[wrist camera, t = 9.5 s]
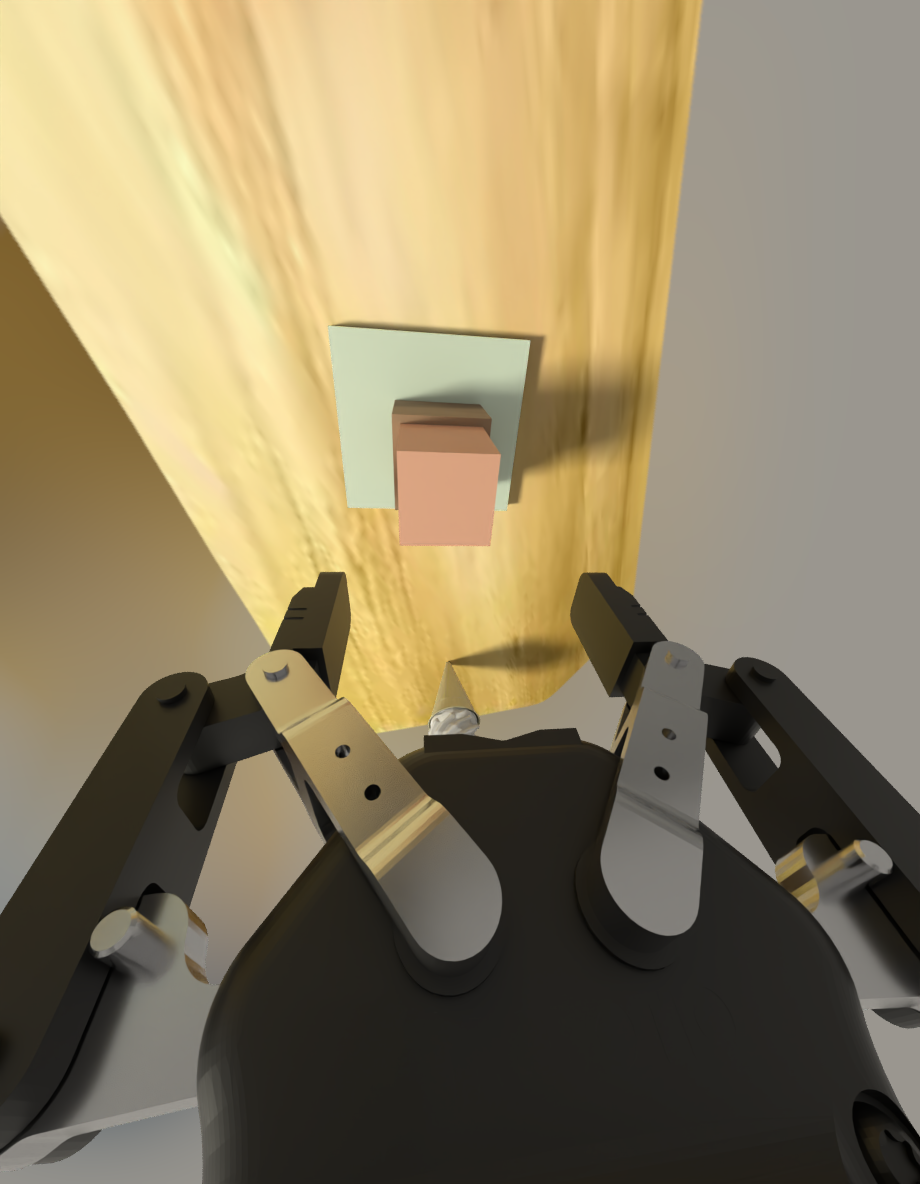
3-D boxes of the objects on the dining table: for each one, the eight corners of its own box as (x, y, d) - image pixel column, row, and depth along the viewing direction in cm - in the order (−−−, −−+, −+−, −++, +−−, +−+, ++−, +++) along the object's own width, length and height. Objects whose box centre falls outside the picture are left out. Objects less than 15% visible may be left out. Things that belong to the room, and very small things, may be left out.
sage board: (331, 325, 25) (327, 325, 24) (526, 339, 26) (530, 340, 25) (349, 501, 32) (347, 507, 31) (504, 505, 33) (506, 510, 32)
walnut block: (395, 399, 27) (391, 413, 23) (480, 404, 27) (491, 418, 23) (397, 484, 30) (395, 510, 26) (473, 486, 31) (482, 511, 27)
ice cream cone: (418, 672, 44) (420, 807, 32) (437, 641, 42) (447, 774, 29) (457, 683, 46) (473, 814, 33) (478, 654, 43) (503, 784, 31)
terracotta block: (400, 423, 23) (396, 450, 18) (482, 426, 24) (500, 454, 19) (402, 503, 26) (399, 545, 21) (476, 504, 26) (490, 546, 22)
